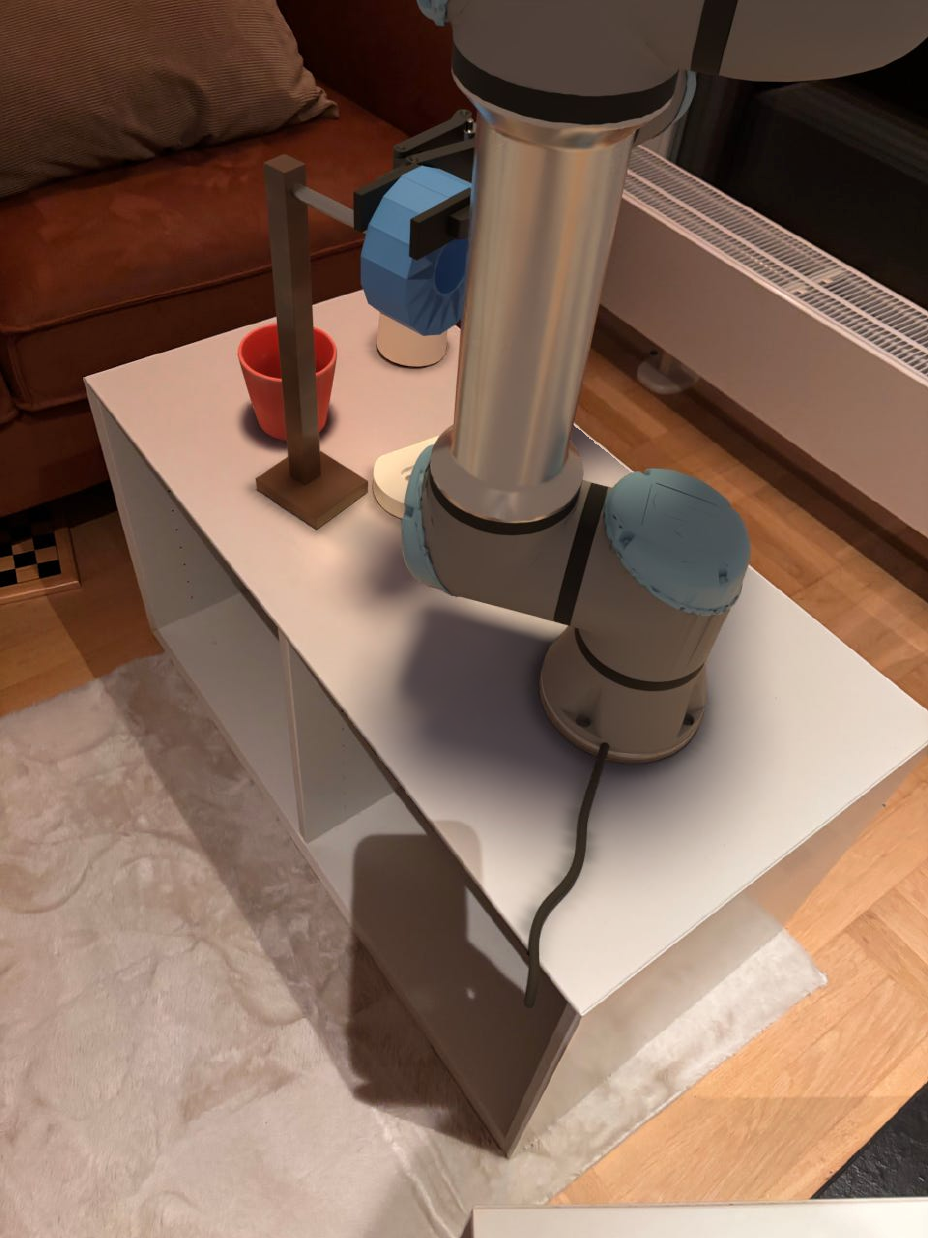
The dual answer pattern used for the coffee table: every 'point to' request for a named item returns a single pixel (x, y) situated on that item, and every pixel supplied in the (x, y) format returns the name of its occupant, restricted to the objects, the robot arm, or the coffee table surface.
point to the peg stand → (301, 352)
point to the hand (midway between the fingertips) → (385, 225)
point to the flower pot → (265, 376)
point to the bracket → (396, 476)
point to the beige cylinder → (408, 344)
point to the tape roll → (399, 282)
